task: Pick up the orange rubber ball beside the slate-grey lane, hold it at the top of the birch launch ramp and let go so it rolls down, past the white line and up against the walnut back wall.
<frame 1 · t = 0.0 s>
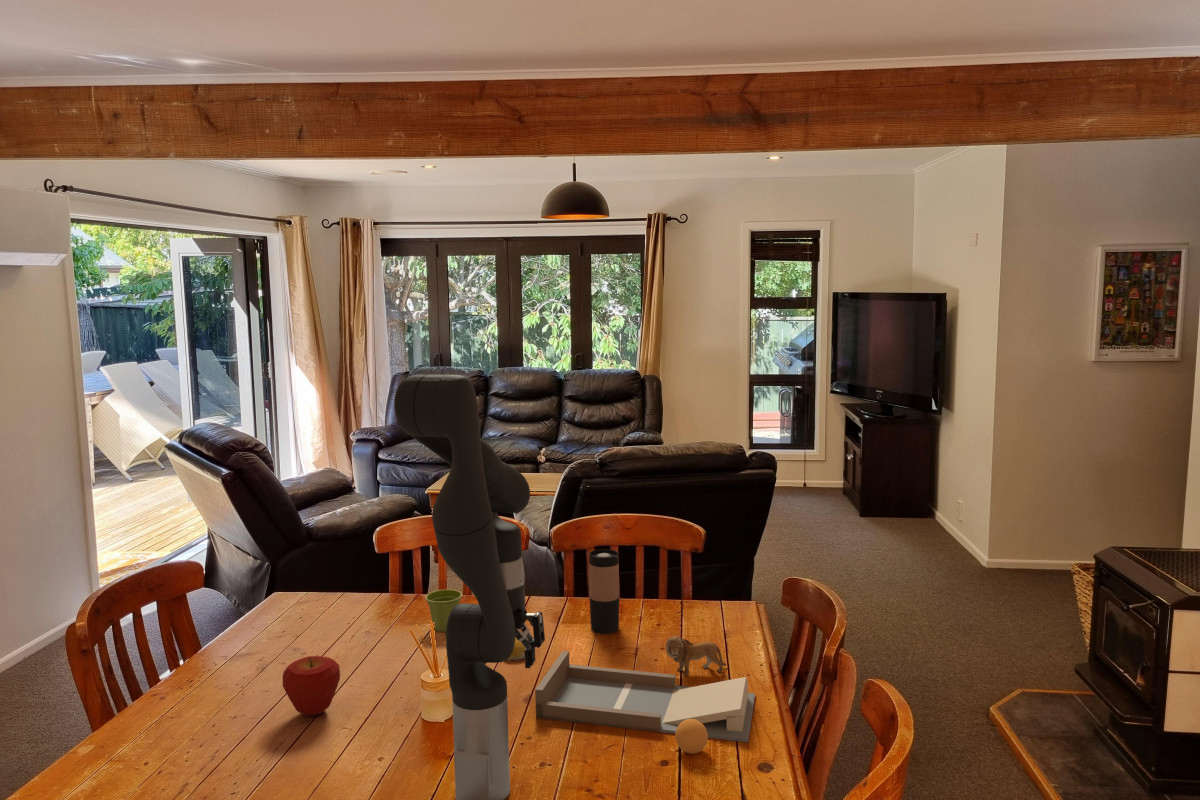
hand: (507, 664, 152), 17 cm above the table, tool pointing down, fingers open, 8 cm apart
apple: (313, 714, 170), on the table
plant pot: (445, 628, 214), on the table
rubber ball: (691, 736, 153), point 3 cm above the table
travel mug: (604, 629, 212), on the table
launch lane: (639, 705, 171), on the table
lion figurine: (695, 673, 186), on the table
bread roll: (513, 654, 198), on the table
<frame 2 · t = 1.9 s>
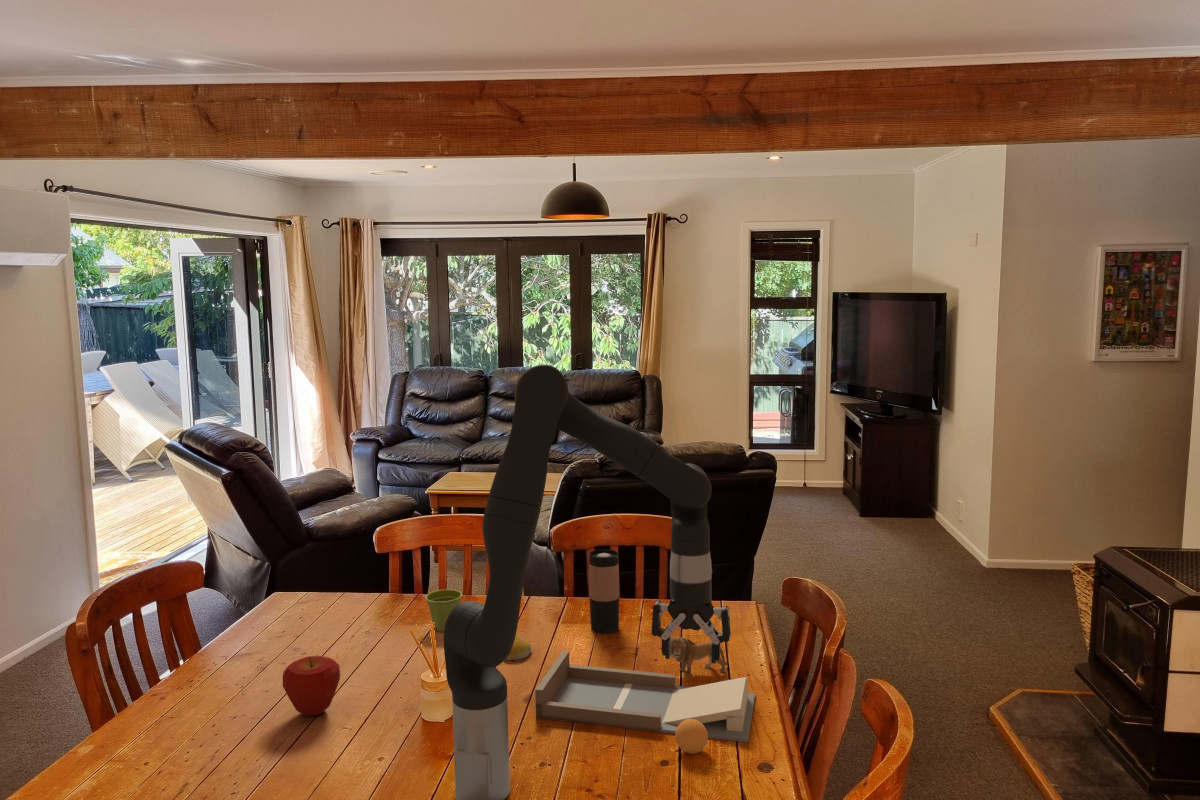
hand: (691, 659, 152), 18 cm above the table, tool pointing down, fingers open, 8 cm apart
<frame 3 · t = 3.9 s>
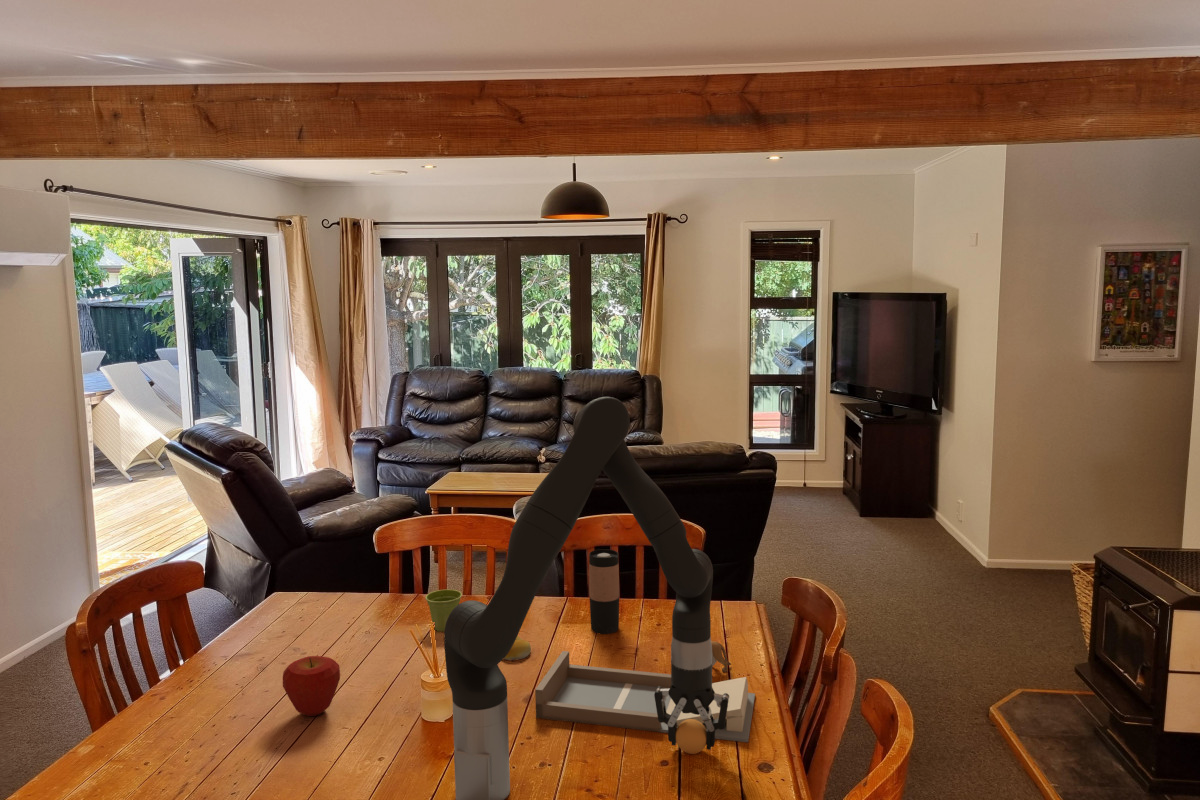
hand: (691, 745, 153), 1 cm above the table, tool pointing down, fingers closed on rubber ball, 6 cm apart
rubber ball: (691, 736, 153), point 3 cm above the table, touching gripper
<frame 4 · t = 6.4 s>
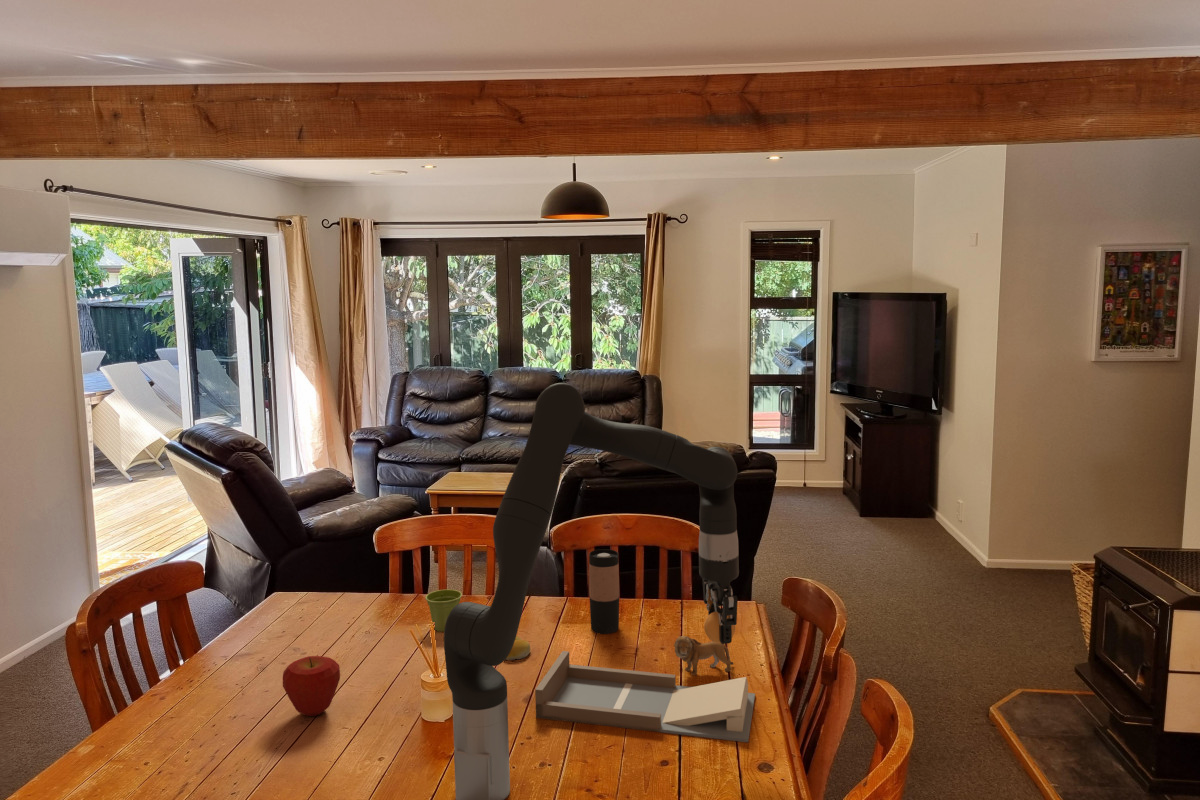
hand: (720, 635, 159), 19 cm above the table, tool pointing down, fingers closed on rubber ball, 6 cm apart
rubber ball: (719, 626, 159), point 21 cm above the table, touching gripper
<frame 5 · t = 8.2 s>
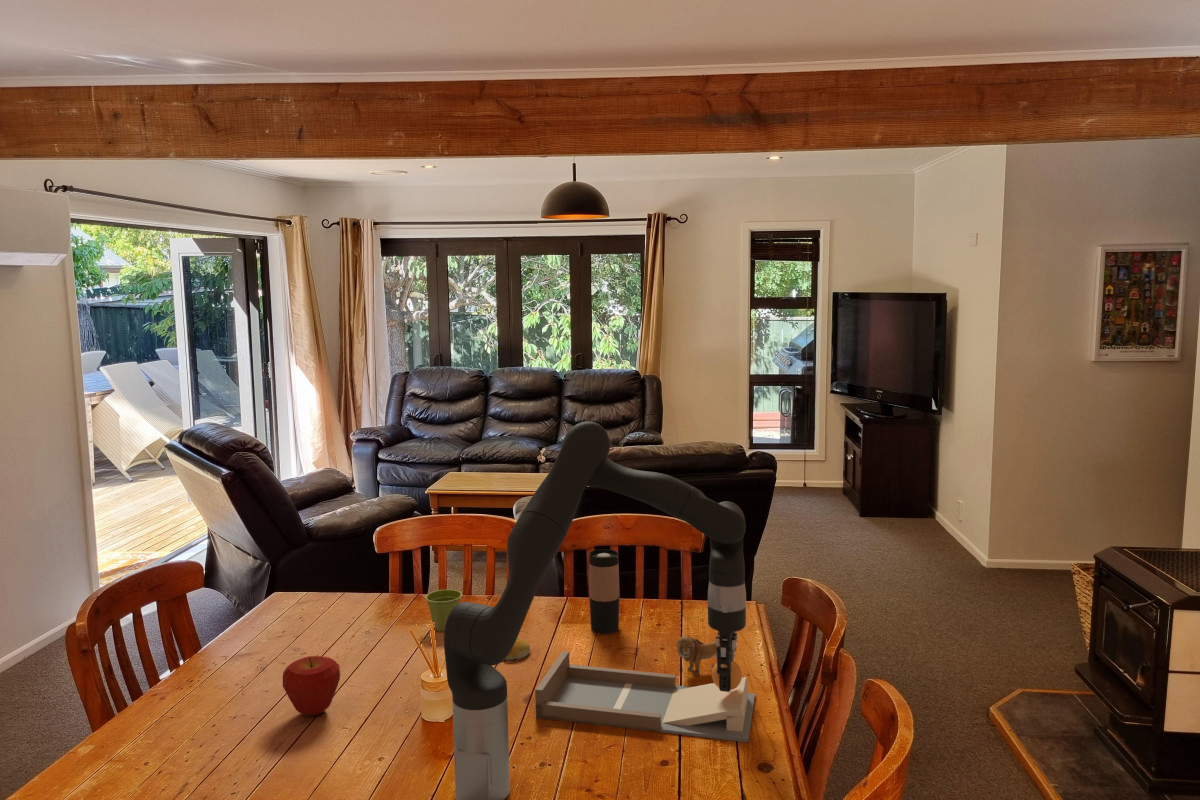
hand: (726, 683, 166), 7 cm above the table, tool pointing down, fingers closed on rubber ball, 6 cm apart
rubber ball: (726, 674, 166), point 9 cm above the table, touching gripper
when the fingers open (7 cm above the table, at t = 9.0 s): rubber ball drops 5 cm and tips over, resting on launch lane.
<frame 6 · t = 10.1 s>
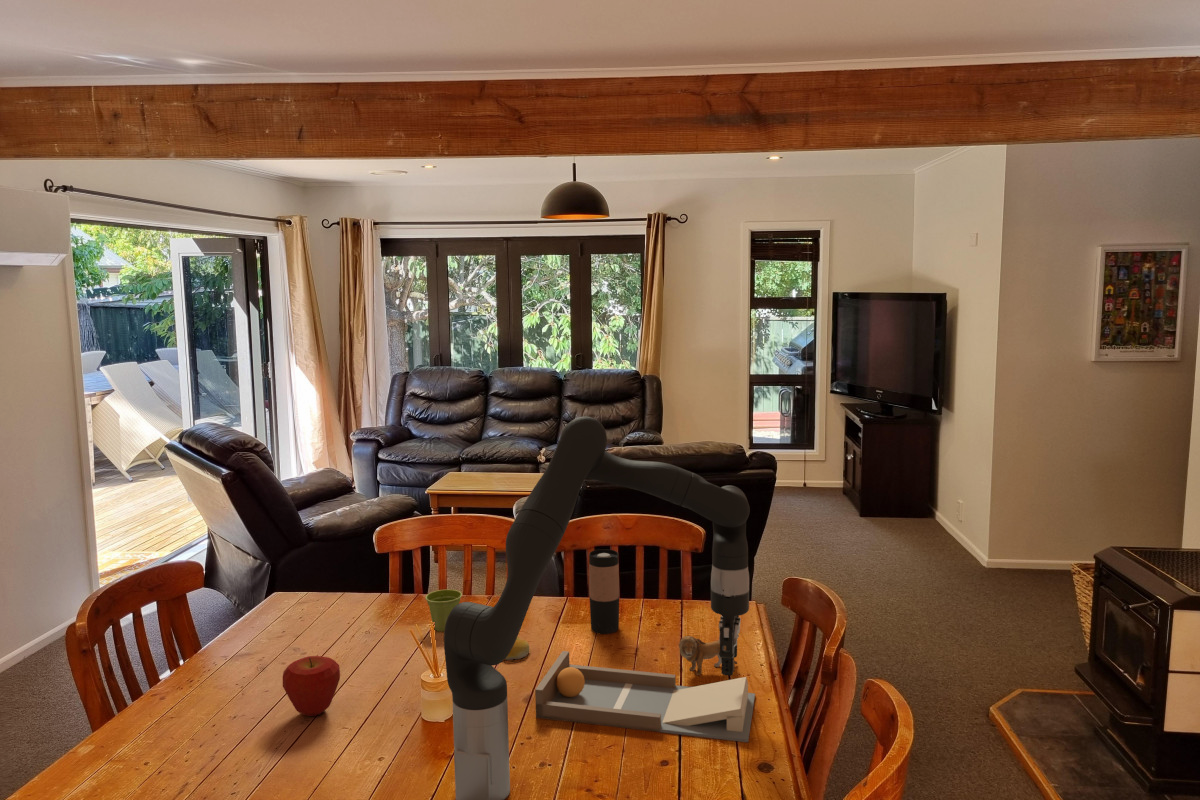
hand: (729, 665, 165), 11 cm above the table, tool pointing down, fingers open, 8 cm apart
rubber ball: (570, 682, 174), point 4 cm above the table, tilted 65°, touching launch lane
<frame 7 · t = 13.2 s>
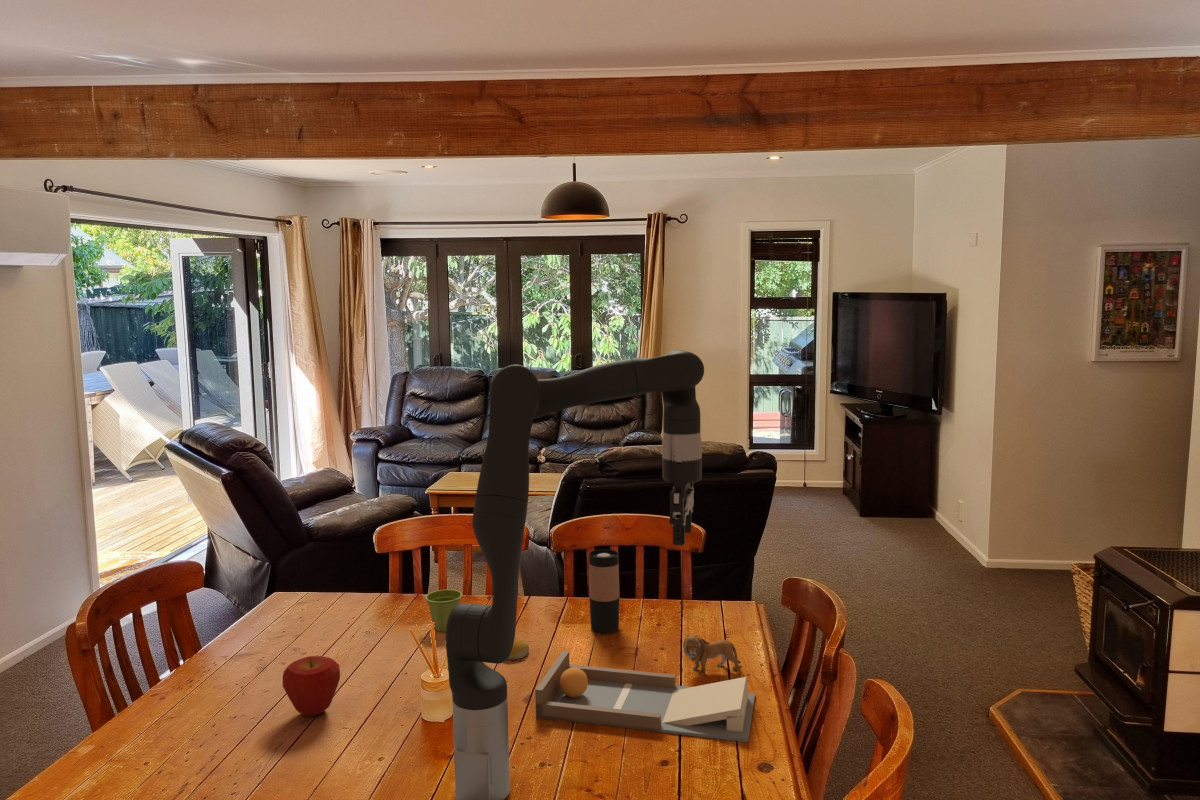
hand: (682, 538, 158), 38 cm above the table, tool pointing down, fingers open, 8 cm apart
rubber ball: (573, 682, 174), point 4 cm above the table, tilted 79°, touching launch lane
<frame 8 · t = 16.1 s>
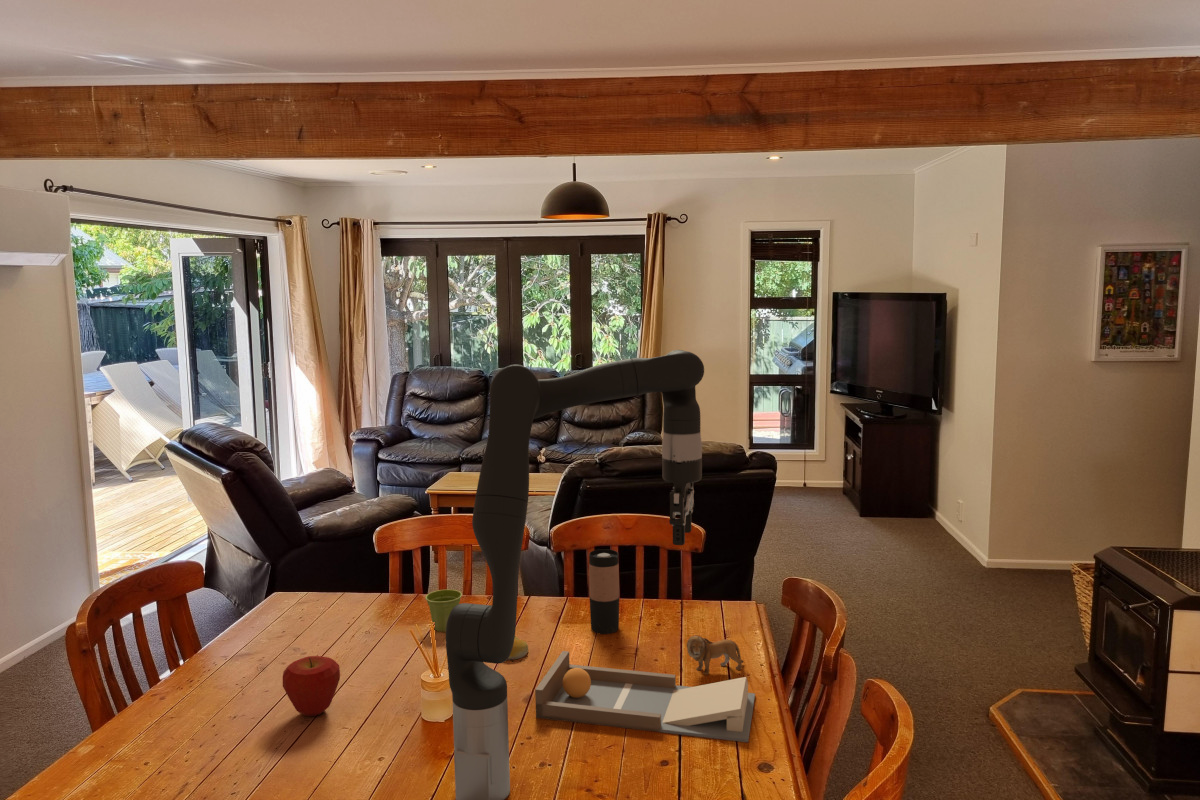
hand: (682, 538, 158), 38 cm above the table, tool pointing down, fingers open, 8 cm apart
rubber ball: (576, 682, 174), point 4 cm above the table, tilted 92°, touching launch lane
at the end: rubber ball inside the target area (1.2 cm from its centre), point 3.6 cm above the table; the gripper is holding nothing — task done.
